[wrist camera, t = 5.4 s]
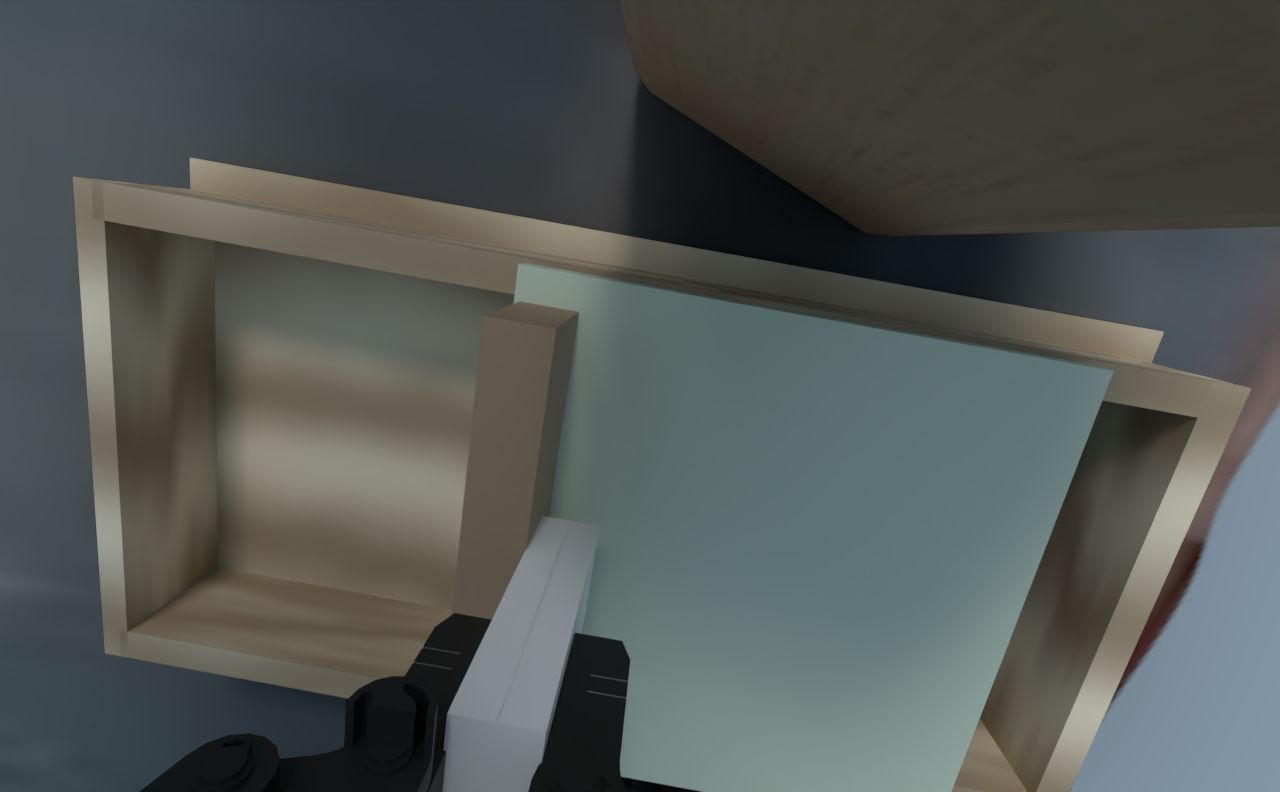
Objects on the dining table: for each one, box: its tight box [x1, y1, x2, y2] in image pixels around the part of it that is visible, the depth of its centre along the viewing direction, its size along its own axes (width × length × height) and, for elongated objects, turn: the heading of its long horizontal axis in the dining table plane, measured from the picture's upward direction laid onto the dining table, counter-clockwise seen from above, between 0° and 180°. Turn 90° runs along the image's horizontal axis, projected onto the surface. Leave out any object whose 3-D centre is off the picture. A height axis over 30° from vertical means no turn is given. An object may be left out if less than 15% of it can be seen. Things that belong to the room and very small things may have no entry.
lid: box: [452, 263, 1114, 792], centre depth 15 cm, size 15×15×4 cm
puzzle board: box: [73, 158, 1252, 792], centre depth 20 cm, size 17×32×5 cm, turn 80°
